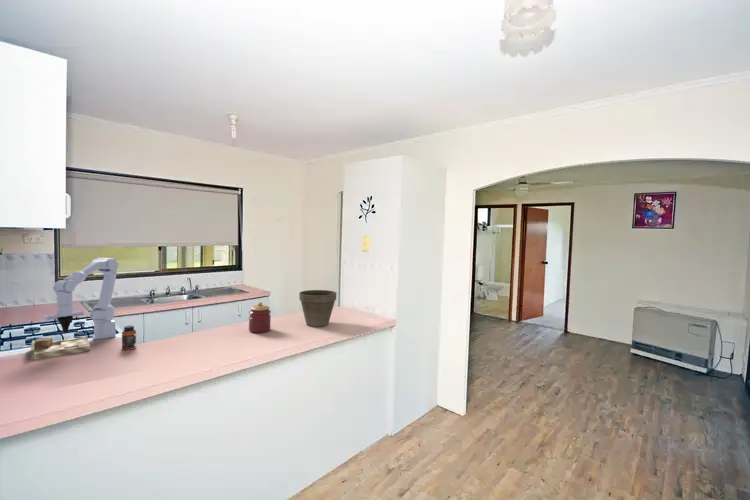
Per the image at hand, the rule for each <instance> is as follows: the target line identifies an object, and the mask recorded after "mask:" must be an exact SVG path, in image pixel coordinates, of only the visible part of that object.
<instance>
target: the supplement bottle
mask: <svg viewBox="0 0 750 500" xmlns="http://www.w3.org/2000/svg"><path fill="white" fill-rule="evenodd" d="M123 328H124V329H123V330H122V332H121V347H122V348H121V349H122V350H124V351H129V350H134V349H135V347H136V348H137V330H136V329H135V326H134V325H127V326H124V327H123ZM135 345H136V346H135Z"/></svg>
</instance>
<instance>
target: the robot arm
mask: <svg viewBox="0 0 750 500" xmlns="http://www.w3.org/2000/svg"><path fill="white" fill-rule="evenodd" d="M118 266H119V262H118V261H117V259H116V258H113V257H111V258H110V257H95V258H94V259H92V261H91V262H90V264H88V265H87V266H85V267H84V268H83V269H82V270H78V271H73V272H72V273H71V274H69V275H68V276H66V277H64V278H63V280H62V279H60V280H57V281H56V282H55V283H54V285H53V287H52V288H53V290H54V292H55V295H56V311H57V313H54V314H47V315H44V320H45V321H50V320H54V319H55V320H57V321H58V323H59V325H60V326H61V329H62V333H68V332H69V327H70V325H71V324H72V321H73V319H74V317H76V316H84V315H85V311H84V310H78V311H73V292H74V291H75V289H76V288H77V286H78V285H80V284H81V283H82V282H84V281H86V279H87V277H88V276H90V275H92V273H93V272H96V271H99V272H101V274H102V275H103V280H102V285H101V289H100V293H99V299H98V303H97V304H95V305H94V306H93V308H92V310H91V312H90V314H89V318H90V319H91V321H92V322H93V327H94V328H93V330H94V331H93V335H92V338H93V340H94V341H95V340H101V339H102V340H103V339H109V338H116V337H117V336H116V333H117V332H116V320H115V319H114V317H115V307H114V306H113V305H112V304H111V303H112V298H113V293H114V288H115V284H116V279H117V274H118V273H117V272H118V268H119V267H118Z"/></svg>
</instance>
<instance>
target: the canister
mask: <svg viewBox="0 0 750 500" xmlns="http://www.w3.org/2000/svg"><path fill="white" fill-rule="evenodd" d="M271 312H272V310H270V307H269V306H268V305H267V304H263V303H262V302H261V301H260V302H258V303H257V304H256V305H255V304H254V305H253V306H252V307H250V310H249V311H248V314H249V317H248V331H250V333H252V332H255V333H254V334H263V333H262V332H265V333H268V332H270V331H271V327H272V326H271V317H272V316H271ZM269 330H270V331H269ZM267 331H268V332H267Z"/></svg>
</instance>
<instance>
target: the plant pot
mask: <svg viewBox="0 0 750 500" xmlns="http://www.w3.org/2000/svg"><path fill="white" fill-rule="evenodd" d="M298 294H299V301H300V303H301V308H302V312H303V316H304V317H303V318H304V320H305V325H307V326H309V327H312V328H313V327H315V328H318V327H326V326H328V325H329V323H330V320H331V319H330V318H331V316H332V312H333V309H334V306H335V305H334V304H335V302H336V300H337V292H336V291H334V290H327V289H326V290H325V289H311V290H310V289H309V290H303V291H300V292H299V293H298Z"/></svg>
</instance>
